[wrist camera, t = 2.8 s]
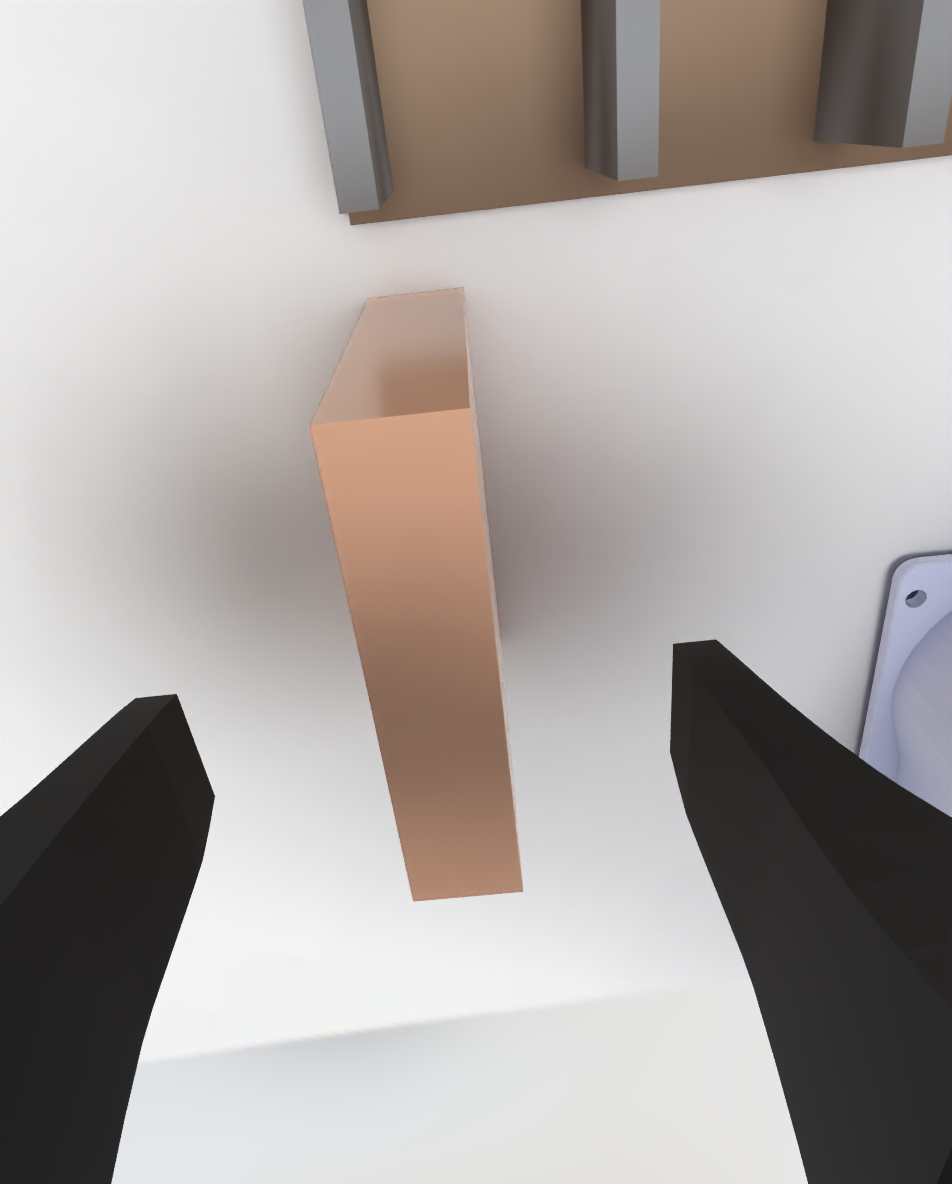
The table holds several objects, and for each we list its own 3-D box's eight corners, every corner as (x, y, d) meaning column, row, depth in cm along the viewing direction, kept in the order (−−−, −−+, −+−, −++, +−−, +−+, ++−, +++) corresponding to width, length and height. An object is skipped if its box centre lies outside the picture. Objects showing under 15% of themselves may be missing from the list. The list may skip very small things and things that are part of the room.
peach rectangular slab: (500, 641, 21) (523, 891, 15) (426, 648, 21) (413, 901, 15) (463, 287, 17) (470, 408, 10) (368, 298, 17) (310, 425, 10)
